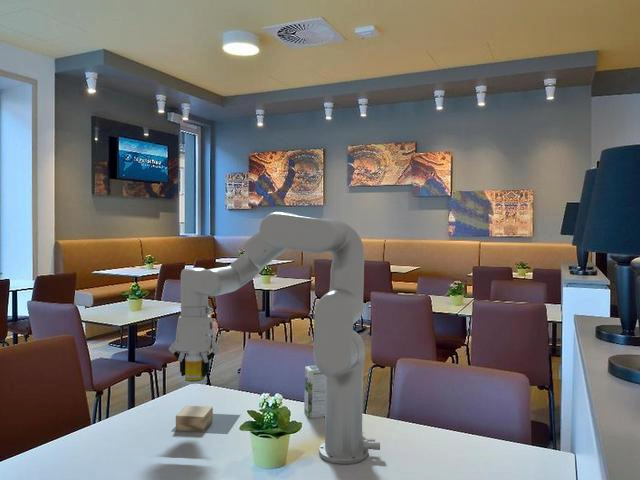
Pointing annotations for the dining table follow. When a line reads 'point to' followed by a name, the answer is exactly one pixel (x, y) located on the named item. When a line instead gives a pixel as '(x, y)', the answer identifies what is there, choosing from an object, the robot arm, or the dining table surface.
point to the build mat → (217, 424)
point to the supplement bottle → (193, 368)
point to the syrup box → (314, 392)
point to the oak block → (194, 418)
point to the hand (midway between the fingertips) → (194, 374)
